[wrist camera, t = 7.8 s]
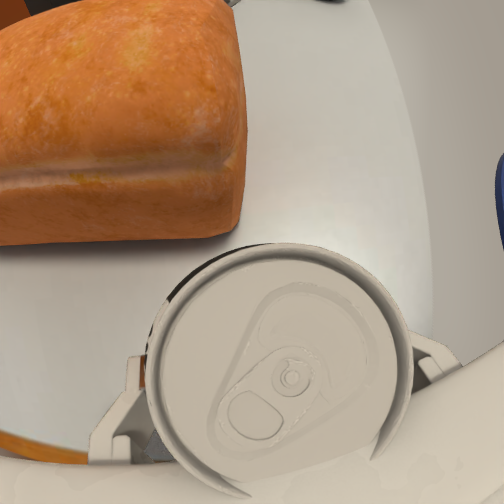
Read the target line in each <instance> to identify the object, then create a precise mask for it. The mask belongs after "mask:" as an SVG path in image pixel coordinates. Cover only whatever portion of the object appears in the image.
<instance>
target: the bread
mask: <svg viewBox="0 0 504 504" xmlns="http://www.w3.org/2000/svg"><path fill="white" fill-rule="evenodd" d="M247 132H248V130H247V111H246V95H245V87H244V80H243V72H242V65H241V58H240V51H239V44H238V38H237V32H236V26H235V20H234V15H233V10H232V9H231V8H230V7H229V6H228V5H227V4H226V3H225V2H224V1H223V0H82V1H78V2H73V3H69V4H66V5H63V6H60V7H57V8H54V9H51V10H48V11H45V12H42V13H39V14H37V15H34V16H32V17H29V18H27V19H24V20H22V21H19V22H17V23H15V24H13V25H11V26H8V27H6V28H4V29H3V30H1V31H0V246H5V245H25V244H40V243H55V242H92V241H118V240H147V239H184V238H209V237H212V236H215V235H219V234H222V233H225V232H228V231H231V230H232V229H233V228H234V226H235V225H236V224H237V222H238V221H239V217H240V211H241V205H242V199H243V193H244V186H245V170H246V151H247Z"/></svg>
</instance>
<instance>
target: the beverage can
mask: <svg viewBox="0 0 504 504" xmlns="http://www.w3.org/2000/svg"><path fill="white" fill-rule="evenodd" d="M413 376H414V362H413V350H412V344H411V339H410V334H409V331H408V328H407V325H406V323H405V321H404V318H403V316H402V313H401V311H400V310H399V308H398V306H397V304H396V303H395V301H394V300H393V298H392V297H391V295H390V294H389V292H388V291H387V290H386V289H385V288H384V286H383V285H382V284H381V283H380V282H379V281H378V280H377V279H376V278H375V277H374V276H373V275H372V274H370V273H369V272H368V271H367V270H365V269H364V268H363V267H361V266H360V265H359V264H357V263H355V262H354V261H352V260H350V259H348V258H346V257H344V256H342V255H340V254H338V253H335V252H333V251H330V250H327V249H324V248H321V247H317V246H311V245H305V244H297V243H268V244H257V245H250V246H245V247H241V248H238V249H234V250H231V251H228V252H226V253H223V254H221V255H219V256H217V257H215V258H213V259H211V260H209V261H207V262H206V263H204V264H203V265H201V266H199V267H198V268H196V269H195V270H194V271H192V272H191V273H190V274H189V275H188V276H187V277H185V278H184V279H183V280H182V281H181V282H180V283H179V284H178V285H177V286H176V287H175V289H174V290H173V291H172V292H171V294H170V295H169V296H168V297H167V299H166V300H165V302H164V303H163V305H162V307H161V309H160V310H159V312H158V314H157V316H156V318H155V320H154V323H153V325H152V328H151V331H150V334H149V337H148V341H147V344H146V351H145V358H144V378H145V388H146V396H147V402H148V407H149V411H150V414H151V417H152V420H153V423H154V426H155V428H156V430H157V432H158V434H159V436H160V437H161V439H162V441H163V443H164V444H165V446H166V447H167V449H168V450H169V452H170V453H171V454H172V455H173V457H174V458H175V459H176V460H177V461H178V462H179V463H180V464H181V465H182V466H183V467H184V468H185V469H186V470H187V471H188V472H189V473H191V474H192V475H193V476H194V477H195V478H197V479H198V480H200V481H201V482H203V483H205V484H206V485H208V486H210V487H212V488H213V489H215V490H218V491H220V492H223V493H225V494H228V495H230V496H233V497H237V498H240V499H249V498H252V496H251V495H249V494H247V493H246V492H244V491H242V490H240V489H238V488H236V487H235V486H233V485H232V484H230V483H228V482H227V481H226V480H224V479H223V478H222V477H221V475H220V474H222V475H224V476H226V477H228V478H230V479H233V480H236V481H239V482H242V483H247V482H252V481H257V480H262V479H266V478H270V477H274V476H278V475H282V474H286V473H290V472H293V471H297V470H301V469H304V468H307V467H311V466H314V465H317V464H320V463H323V462H326V461H329V460H332V459H335V458H338V457H340V456H343V455H346V454H349V453H351V452H354V451H356V450H359V449H361V448H363V447H366V446H368V445H369V443H370V442H371V441H372V440H373V438H374V437H375V436H376V434H377V433H378V431H379V430H380V434H379V437H378V441H377V444H376V446H375V448H374V450H373V453H372V455H371V457H370V461H372V460H375V459H376V458H378V457H379V456H380V455H381V453H382V452H383V451H384V450H385V448H386V447H387V446H388V444H389V443H390V442H391V440H392V439H393V437H394V436H395V434H396V432H397V430H398V428H399V426H400V424H401V423H402V420H403V418H404V415H405V413H406V410H407V407H408V404H409V400H410V396H411V391H412V386H413ZM219 473H220V474H219Z"/></svg>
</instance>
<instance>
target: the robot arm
mask: <svg viewBox="0 0 504 504" xmlns="http://www.w3.org/2000/svg"><path fill="white" fill-rule="evenodd" d="M408 331H409V334H410V339H411V344H412V350H413V362H414V376H413V386H412V391H411V396H410V400H409V404H408V407H407V410H406V413H405V415H404V418H403V420H402V423H401V424H400V426H399V428H398V430H397V432H396V434H395V436H394V437H393V439H392V440H391V442H390V443H389V444H388V446H387V447H386V448H385V450H384V451H383V452H382V453H381V455H380V456H379V457H378V458H376V459H375V460H372V461H370V457H371V455H372V453H373V450H374V448H375V446H376V444H377V441H378V437H379V434H380V430H379V431H378V433H377V434H376V436H375V437H374V438H373V440H372V441H371V442H370V443H369V445H368V446H366V447H363V448H361V449H359V450H356V451H354V452H351V453H349V454H346V455H343V456H340V457H338V458H335V459H332V460H329V461H326V462H323V463H320V464H317V465H314V466H311V467H307V468H304V469H301V470H297V471H293V472H290V473H286V474H282V475H278V476H274V477H270V478H266V479H262V480H257V481H252V482H247V483H242V482H239V481H236V480H233V479H230V478H228V477H226V476H224V475H222V474H220V473H219V474H220V475H221V477H222V478H223V479H224V480H226V481H227V482H228V483H230V484H232V485H233V486H235V487H236V488H238V489H240V490H242V491H244V492H246V493H247V494H249V495H251V496H252V498H249V499H240V498H237V497H233V496H230V495H228V494H225V493H223V492H220V491H218V490H215V489H213V488H212V487H210V486H208V485H206V484H205V483H203V482H201V481H200V480H198V479H197V478H195V477H194V476H193V475H192V474H191V473H189V472H188V471H187V470H186V469H185V468H184V467H183V466H182V465H181V464H180V463H179V462H178V461H173V462H163V463H155V462H154V461H153V460H152V459H151V458H150V457H149V456H148V455H147V454H146V453H145V452H144V450H145V448H146V446H147V444H148V442H149V440H150V438H151V436H152V434H153V432H154V430H155V426H154V423H153V420H152V417H151V414H150V411H149V407H148V402H147V396H146V388H145V378H144V358H145V355H140V356H132V357H129V358H128V360H127V372H126V386H125V392H122V393H121V394H120V395H119V397H118V398H117V399H116V401H115V402H114V403H113V405H112V406H111V407H110V409H109V410H108V411H107V413H106V414H105V415H104V417H103V418H102V419H101V421H100V422H99V423H98V425H97V426H96V428H95V429H94V430H93V432H92V433H91V434H90V436H89V449H88V465H76V464H59V463H48V462H38V461H30V460H23V459H16V458H10V457H4V456H0V504H504V341H503V342H501V343H500V344H498V345H497V346H495V347H494V348H492V349H491V350H489V351H488V352H486V353H484V354H483V355H481V356H480V357H478V358H476V359H475V360H473V361H472V362H470V363H468V364H467V365H465V366H462V365H461V363H460V362H459V361H458V359H457V358H456V357H455V356H454V354H452V352H451V351H450V349H449V348H448V347H447V346H445V345H443V344H441V343H438V342H436V341H434V340H431V339H429V338H426V337H424V336H422V335H419V334H417V333H414V332H412V331H410V330H408Z"/></svg>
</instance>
